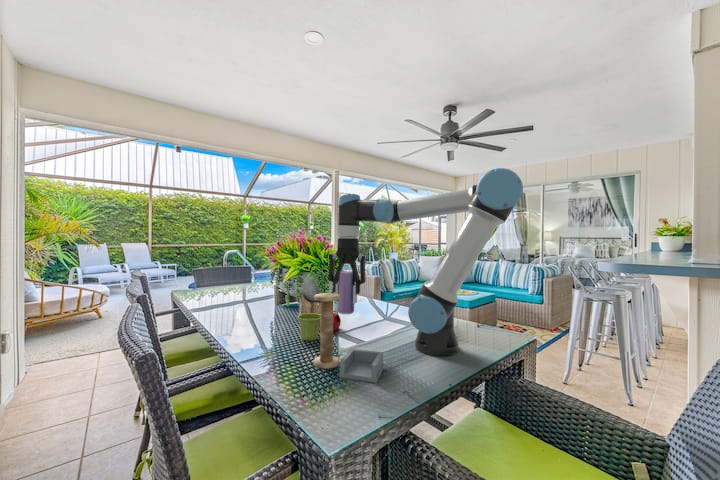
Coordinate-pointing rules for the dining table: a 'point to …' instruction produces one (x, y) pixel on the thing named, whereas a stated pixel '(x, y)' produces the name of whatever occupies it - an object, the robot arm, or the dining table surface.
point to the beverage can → (346, 292)
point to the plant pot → (309, 326)
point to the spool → (326, 331)
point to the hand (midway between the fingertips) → (346, 301)
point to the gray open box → (362, 365)
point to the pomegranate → (336, 321)
